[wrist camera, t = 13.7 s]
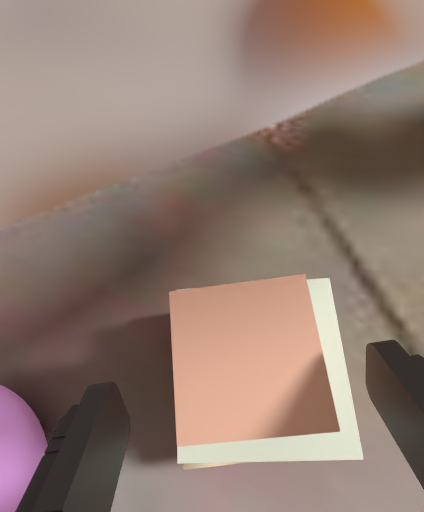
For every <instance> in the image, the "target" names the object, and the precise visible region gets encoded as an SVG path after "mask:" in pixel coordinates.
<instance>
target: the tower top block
mask: <svg viewBox="0 0 424 512" xmlns="http://www.w3.org/2000/svg"><path fill="white" fill-rule="evenodd" d="M307 284H308V288H309V293H310V297H311V302H312V306H313V311H314V315H315V320H316V324H317V329H318V333H319V338H320V342H321V347H322V351H323V355H324V360H325V364H326V369H327V373H328V378H329V382H330V387H331V391H332V396H333V400H334V405H335V409H336V414H337V418H338V423H339V427H340V432H331V433H320V434H310V435H299V436H288V437H277V438H267V439H256V440H245V441H234V442H224V443H213V444H202V445H191V446H181V447H177V464H178V463H224V462H269V461H315V460H360V459H363V453H362V448H361V443H360V437H359V432H358V427H357V422H356V416H355V411H354V406H353V401H352V395H351V390H350V385H349V379H348V374H347V369H346V364H345V358H344V353H343V348H342V343H341V337H340V332H339V327H338V321H337V316H336V311H335V306H334V300H333V295H332V290H331V285H330V279H329V278H323V279H310V280H307ZM190 289H194V288H190ZM179 290H186V289H177V291H179Z"/></svg>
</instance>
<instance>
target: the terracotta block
mask: <svg viewBox="0 0 424 512" xmlns="http://www.w3.org/2000/svg"><path fill="white" fill-rule="evenodd" d="M169 299H170V319H171V338H172V358H173V378H174V398H175V417H176V437H177V447H181V446H191V445H202V444H213V443H224V442H234V441H245V440H256V439H267V438H277V437H288V436H299V435H310V434H320V433H331V432H340V427H339V423H338V418H337V414H336V409H335V405H334V400H333V396H332V391H331V387H330V382H329V378H328V373H327V369H326V364H325V360H324V355H323V351H322V347H321V342H320V338H319V333H318V329H317V324H316V320H315V315H314V311H313V306H312V302H311V297H310V293H309V288H308V284H307V279H306V275H305V274H301V275H293V276H286V277H278V278H270V279H263V280H255V281H248V282H240V283H232V284H225V285H217V286H209V287H202V288H194V289H186V290H179V291H171V292H169Z"/></svg>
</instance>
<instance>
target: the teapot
mask: <svg viewBox="0 0 424 512" xmlns="http://www.w3.org/2000/svg"><path fill="white" fill-rule="evenodd" d="M47 446H48V445H47V441H46V438H45V434H44V431H43V429H42V427H41V424H40V422H39V420H38V418H37V417H36V415H35V413H34V412H33V410H32V409H31V408H30V407H29V405H28V404H27V403H26V402H25V401H24V400H23V399H22V398H21V397H19V396H18V395H17V394H16V393H15V392H13V391H11V390H9V389H8V388H6V387H4V386H2V385H0V512H15V511H16V509H17V507H18V505H19V503H20V501H21V499H22V497H23V495H24V493H25V491H26V489H27V487H28V485H29V483H30V481H31V479H32V477H33V475H34V473H35V471H36V469H37V466H38V464H39V462H40V460H41V458H42V456H44V455H45V453H44V452H45V450H46V448H47Z"/></svg>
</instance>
